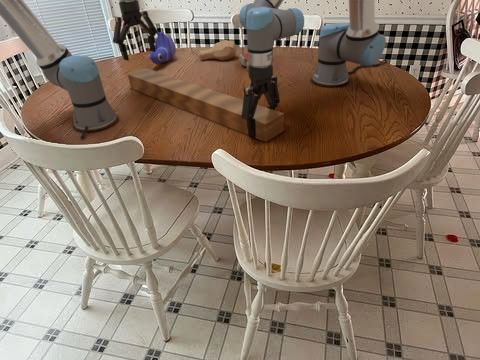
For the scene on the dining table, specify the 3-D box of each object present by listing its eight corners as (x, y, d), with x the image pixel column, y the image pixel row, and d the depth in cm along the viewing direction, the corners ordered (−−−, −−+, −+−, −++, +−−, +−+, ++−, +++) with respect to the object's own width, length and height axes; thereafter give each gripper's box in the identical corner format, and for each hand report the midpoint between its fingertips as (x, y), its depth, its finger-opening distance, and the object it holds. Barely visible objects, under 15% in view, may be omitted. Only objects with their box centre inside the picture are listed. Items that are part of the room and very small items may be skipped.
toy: (164, 64, 198) (143, 70, 176) (159, 31, 191) (137, 33, 169) (180, 63, 196) (162, 69, 173) (176, 30, 189) (156, 32, 167)
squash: (238, 60, 183) (235, 44, 177) (201, 68, 185) (196, 51, 179) (237, 51, 191) (234, 34, 185) (201, 58, 193) (197, 42, 186)
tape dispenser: (258, 80, 163) (278, 64, 175) (258, 69, 159) (279, 54, 172) (226, 73, 170) (248, 58, 183) (226, 62, 167) (248, 48, 179)
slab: (131, 88, 160) (127, 74, 156) (148, 82, 165) (145, 68, 161) (266, 142, 115) (265, 123, 111) (283, 131, 120) (284, 113, 117)
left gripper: (104, 7, 129) (119, 65, 141) (159, -5, 143) (168, 49, 156) (94, 5, 133) (109, 61, 146) (148, -6, 147) (158, 46, 160)
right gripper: (245, 77, 99) (248, 146, 112) (292, 57, 112) (290, 121, 125) (226, 72, 103) (231, 139, 117) (273, 53, 116) (273, 115, 129)
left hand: (140, 55), depth 151 cm, fingers open, 13 cm apart
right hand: (261, 130), depth 121 cm, fingers closed on slab, 9 cm apart
